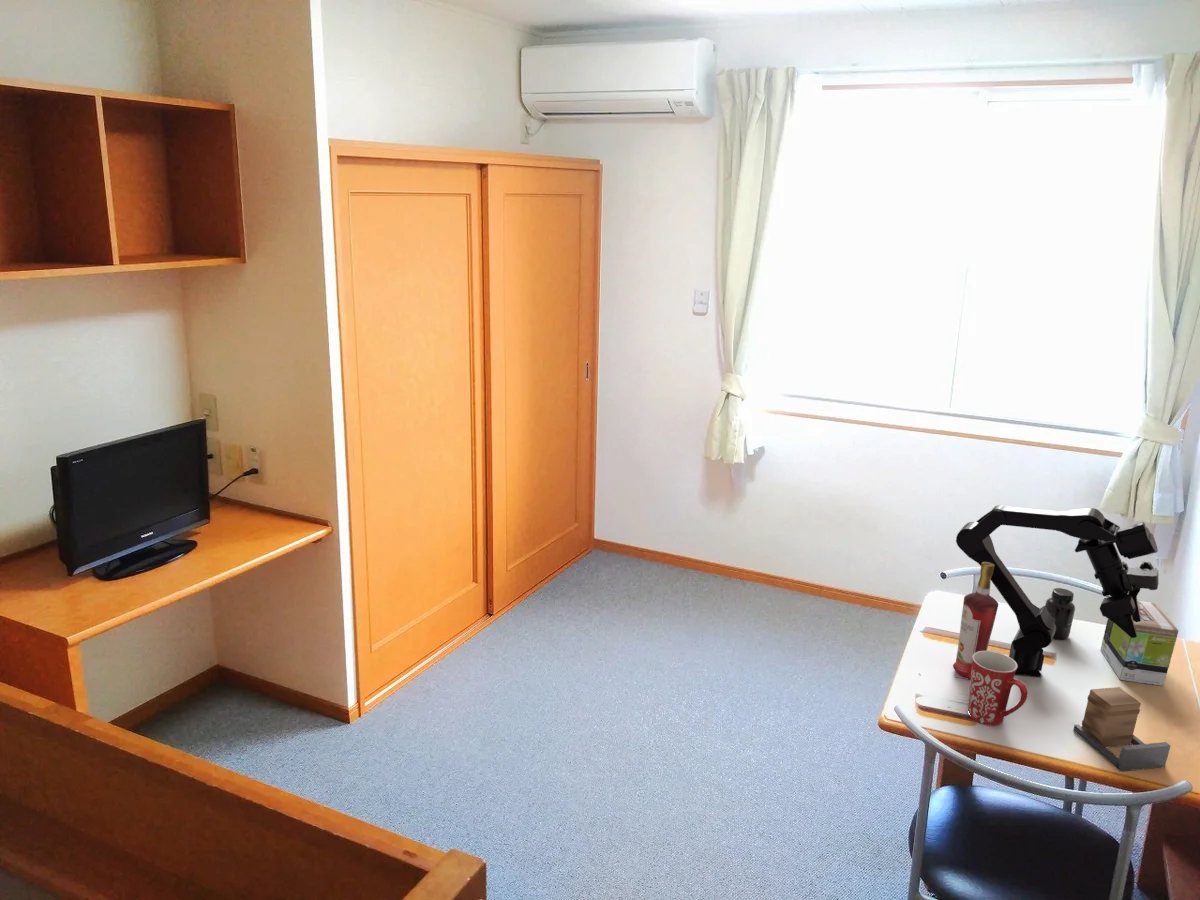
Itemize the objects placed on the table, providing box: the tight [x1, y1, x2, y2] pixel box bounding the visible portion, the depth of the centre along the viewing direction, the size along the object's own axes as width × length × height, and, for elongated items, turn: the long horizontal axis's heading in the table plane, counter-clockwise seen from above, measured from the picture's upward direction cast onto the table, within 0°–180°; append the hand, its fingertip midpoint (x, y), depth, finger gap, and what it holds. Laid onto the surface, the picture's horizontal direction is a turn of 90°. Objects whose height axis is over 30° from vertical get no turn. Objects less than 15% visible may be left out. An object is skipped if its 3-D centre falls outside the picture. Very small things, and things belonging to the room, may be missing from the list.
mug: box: [967, 650, 1028, 727], centre depth 193 cm, size 13×9×14 cm
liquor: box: [952, 562, 999, 680], centre depth 209 cm, size 7×7×28 cm
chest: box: [1081, 686, 1142, 748], centre depth 189 cm, size 6×7×10 cm
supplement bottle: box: [1044, 587, 1076, 641], centre depth 232 cm, size 7×7×12 cm
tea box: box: [1100, 600, 1179, 686], centre depth 217 cm, size 15×10×15 cm, turn 168°
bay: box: [1073, 724, 1171, 772], centre depth 187 cm, size 14×10×5 cm
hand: (1136, 629), depth 201 cm, fingers open, 9 cm apart
